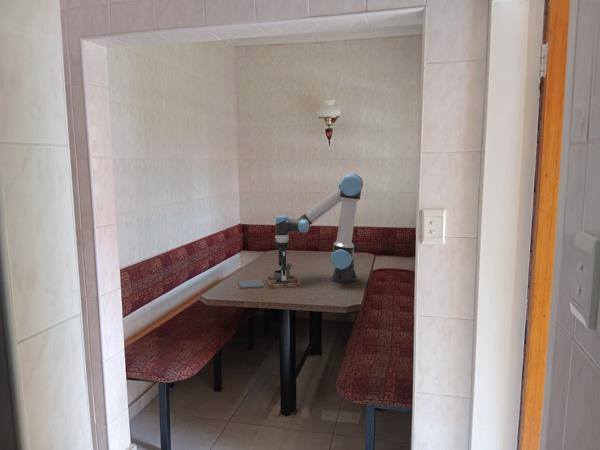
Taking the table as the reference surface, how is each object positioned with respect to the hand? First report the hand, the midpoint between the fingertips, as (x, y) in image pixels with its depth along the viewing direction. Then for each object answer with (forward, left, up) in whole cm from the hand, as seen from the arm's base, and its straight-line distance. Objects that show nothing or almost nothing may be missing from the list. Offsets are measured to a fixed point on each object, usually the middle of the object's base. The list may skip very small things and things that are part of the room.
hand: (282, 278), depth 276 cm
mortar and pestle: (0, 0, -3) cm, 3 cm away
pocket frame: (0, 0, -3) cm, 3 cm away
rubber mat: (+19, 0, -3) cm, 19 cm away
